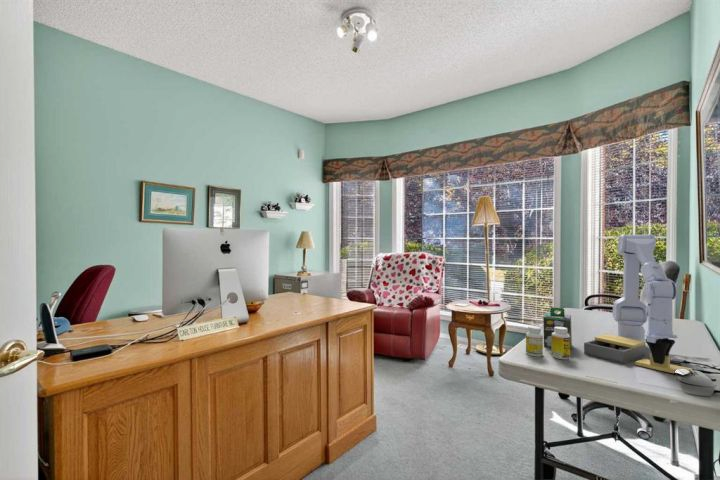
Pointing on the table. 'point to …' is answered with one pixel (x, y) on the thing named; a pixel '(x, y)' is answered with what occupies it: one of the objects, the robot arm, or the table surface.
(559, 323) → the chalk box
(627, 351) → the parts tub
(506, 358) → the table surface
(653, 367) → the lid end segment
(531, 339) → the supplement bottle
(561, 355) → the supplement bottle
